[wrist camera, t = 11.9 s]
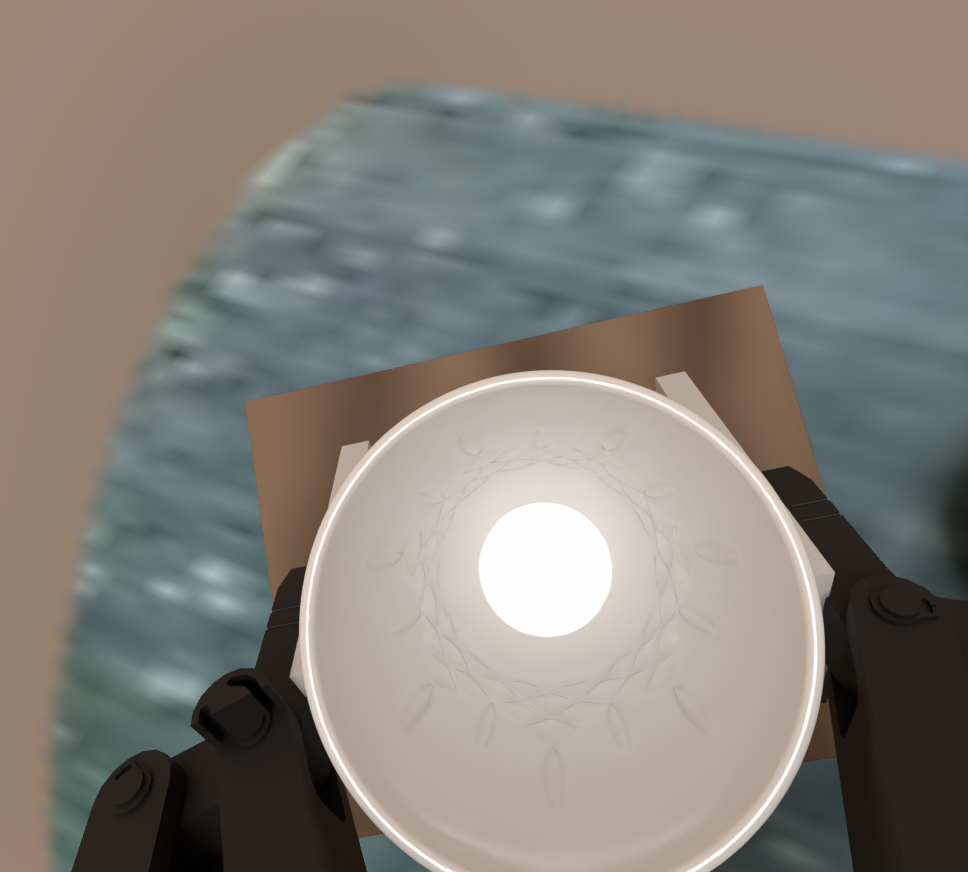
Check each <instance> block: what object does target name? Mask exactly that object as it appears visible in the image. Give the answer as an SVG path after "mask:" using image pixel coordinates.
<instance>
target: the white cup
mask: <svg viewBox="0 0 968 872" xmlns="http://www.w3.org/2000/svg"><path fill="white" fill-rule="evenodd" d="M299 645H300V658H301V667H302V674H303V680H304V686H305V690H306V695H307V699H308V703H309V707H310V710H311V714H312V717H313V720H314V723H315V726H316V728H317V731H318V734H319V736H320V739H321V741H322V743H323V746H324V748H325V750H326V752H327V754H328V756H329V758H330V760H331V762H332V764H333V766H334V768H335V770H336V772H337V773H338V775H339V777H340V778H341V780H342V782H343V783H344V785H345V786H346V788H347V789H348V791H349V792H350V794H351V795H352V797H353V798H354V799H355V801H356V802H357V803H358V805H359V806H360V807H361V809H362V810H363V811H364V812H365V814H366V815H367V816H368V817H369V818H370V819H371V821H372V822H373V823H374V824H375V825H376V826H377V827H378V828H379V829H380V830H381V831H382V832H383V833H384V834H385V835H386V836H387V837H388V838H389V839H390V840H391V841H392V842H393V843H394V844H395V845H397V846H398V847H399V848H400V849H401V850H402V851H404V852H405V853H406V854H407V855H409V856H410V857H411V858H413V859H414V860H415V861H417V862H418V863H419V864H421V865H422V866H424V867H425V868H427V869H428V870H430V871H431V872H710V871H712V870H713V869H715V868H716V867H718V866H719V865H720V864H722V863H723V862H724V861H726V860H727V859H728V858H729V857H731V856H732V855H733V854H734V853H735V852H737V851H738V850H739V849H740V848H741V847H742V846H743V845H744V844H745V843H746V842H747V841H748V840H749V839H750V838H751V837H752V836H753V835H754V834H755V833H756V832H757V831H758V830H759V829H760V827H761V826H762V825H763V824H764V823H765V822H766V820H767V819H768V818H769V817H770V815H771V814H772V813H773V811H774V810H775V808H776V807H777V806H778V804H779V803H780V801H781V800H782V798H783V797H784V795H785V794H786V792H787V790H788V789H789V787H790V785H791V783H792V782H793V780H794V778H795V776H796V774H797V772H798V770H799V768H800V766H801V763H802V761H803V759H804V757H805V754H806V752H807V749H808V746H809V744H810V741H811V738H812V735H813V731H814V728H815V724H816V721H817V717H818V712H819V708H820V702H821V697H822V690H823V682H824V671H825V634H824V622H823V614H822V607H821V602H820V596H819V592H818V587H817V583H816V579H815V576H814V572H813V569H812V566H811V563H810V560H809V557H808V554H807V551H806V549H805V546H804V544H803V541H802V539H801V537H800V534H799V532H798V530H797V528H796V526H795V524H794V522H793V520H792V518H791V516H790V514H789V513H788V511H787V509H786V507H785V506H784V504H783V502H782V501H781V499H780V498H779V496H778V495H777V493H776V492H775V490H774V489H773V487H772V486H771V484H770V483H769V482H768V480H767V479H766V478H765V476H764V475H763V474H762V473H761V471H760V470H759V469H758V468H757V467H756V466H755V464H754V463H753V462H752V461H751V460H750V459H749V458H748V457H747V456H746V455H745V453H744V452H743V451H742V450H741V449H740V448H739V447H737V446H736V445H735V444H734V443H733V442H732V441H731V440H730V439H729V438H728V437H727V436H725V435H724V434H723V433H722V432H721V431H719V430H718V429H717V428H716V427H714V426H713V425H712V424H710V423H709V422H708V421H706V420H705V419H703V418H702V417H701V416H699V415H697V414H696V413H694V412H693V411H691V410H690V409H688V408H686V407H685V406H683V405H681V404H679V403H677V402H676V401H674V400H672V399H670V398H668V397H666V396H664V395H662V394H659V393H657V392H655V391H652V390H650V389H647V388H645V387H642V386H640V385H637V384H634V383H631V382H628V381H624V380H621V379H617V378H613V377H609V376H604V375H599V374H594V373H587V372H579V371H566V370H538V371H525V372H517V373H510V374H505V375H500V376H495V377H491V378H487V379H484V380H480V381H477V382H474V383H471V384H468V385H465V386H463V387H460V388H458V389H455V390H453V391H450V392H448V393H446V394H444V395H442V396H440V397H438V398H436V399H434V400H432V401H430V402H429V403H427V404H425V405H423V406H422V407H420V408H419V409H417V410H415V411H414V412H412V413H411V414H409V415H408V416H407V417H405V418H404V419H403V420H401V421H400V422H399V423H397V424H396V425H395V426H394V427H392V428H391V429H390V430H389V431H388V432H387V433H385V434H384V435H383V436H382V437H381V438H380V439H379V440H378V441H377V442H376V443H375V444H374V445H373V446H372V447H371V448H370V449H369V450H368V451H367V452H366V453H365V455H364V456H363V457H362V458H361V459H360V460H359V462H358V463H357V464H356V465H355V467H354V468H353V469H352V471H351V472H350V473H349V475H348V476H347V478H346V479H345V480H344V482H343V483H342V485H341V487H340V488H339V490H338V491H337V493H336V495H335V496H334V498H333V500H332V502H331V504H330V506H329V508H328V509H327V512H326V514H325V516H324V518H323V520H322V522H321V525H320V527H319V530H318V532H317V535H316V537H315V540H314V543H313V546H312V549H311V553H310V556H309V560H308V564H307V568H306V572H305V577H304V582H303V588H302V595H301V603H300V616H299Z"/></svg>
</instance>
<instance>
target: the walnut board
mask: <svg viewBox="0 0 968 872" xmlns="http://www.w3.org/2000/svg"><path fill="white" fill-rule="evenodd" d="M538 370H566V371H579V372H587V373H594V374H599V375H604V376H609V377H613V378H617V379H621V380H624V381H628V382H631V383H634V384H637V385H640V386H642V387H645V388H647V389H650V390H652V391H655V392H656V379H655V378H657V377H661V376H666V375H670V374H675V373H680V372H684V371H685V372H686V374H687V375H688V376H689V378H690V379H691V380H692V382H693V383H694V384H695V386H696V387H697V388H698V390H699V391H700V392H701V394H702V395H703V396H704V398H705V399H706V400H707V402H708V403H709V404H710V406H711V407H712V409H713V410H714V411H715V413H716V414H717V415H718V417H719V418H720V419H721V421H722V422H723V423H724V425H725V426H726V427H727V429H728V430H729V431H730V433H731V434H732V435H733V437H734V438H735V439H736V441H737V442H738V443H739V445H740V446H741V447H742V449H743V450H744V451H745V453H746V454H747V455H748V457H749V458H750V459H751V461H752V462H753V463H754V464H755V466H756V467H757V468H758V469H759V470H760V471H766V470H771V469H776V468H781V467H785V466H790V467H792V468H793V469H795V470H797V471H798V472H800V473H802V474H804V475H805V476H807V477H809V478H810V479H812V480H813V481H814V483H815V484H816V485H817V486H818V487H819V489H820V490H821V491H822V492H823V493H824V494H825V491H824V488H823V485H822V481H821V478H820V475H819V471H818V468H817V465H816V461H815V458H814V455H813V451H812V448H811V444H810V441H809V438H808V434H807V431H806V428H805V424H804V421H803V418H802V414H801V411H800V408H799V404H798V401H797V398H796V394H795V391H794V387H793V384H792V381H791V377H790V374H789V371H788V367H787V364H786V361H785V357H784V354H783V351H782V347H781V344H780V340H779V337H778V334H777V330H776V327H775V324H774V320H773V317H772V314H771V310H770V307H769V304H768V300H767V297H766V294H765V290H764V287H763V285H761V286H756V287H752V288H748V289H743V290H739V291H734V292H730V293H725V294H721V295H717V296H712V297H708V298H703V299H699V300H694V301H690V302H686V303H681V304H677V305H672V306H668V307H664V308H659V309H655V310H650V311H646V312H641V313H637V314H633V315H628V316H624V317H619V318H615V319H611V320H606V321H602V322H597V323H593V324H588V325H584V326H580V327H575V328H571V329H566V330H562V331H557V332H553V333H549V334H544V335H540V336H535V337H531V338H527V339H522V340H518V341H513V342H509V343H504V344H500V345H496V346H491V347H487V348H482V349H478V350H473V351H469V352H465V353H460V354H456V355H451V356H447V357H443V358H438V359H434V360H429V361H425V362H420V363H416V364H412V365H407V366H403V367H398V368H394V369H389V370H385V371H381V372H376V373H372V374H367V375H363V376H359V377H354V378H350V379H345V380H341V381H336V382H332V383H328V384H323V385H319V386H314V387H310V388H306V389H301V390H297V391H292V392H288V393H283V394H279V395H275V396H270V397H266V398H261V399H257V400H252V401H248V402H245V404H246V412H247V419H248V426H249V433H250V441H251V448H252V455H253V462H254V470H255V477H256V484H257V491H258V499H259V506H260V513H261V520H262V527H263V535H264V542H265V549H266V556H267V564H268V571H269V578H270V585H271V593H272V600H273V603H274V600H275V596H276V593H277V589H278V587H279V586H280V585H281V583H282V582H283V580H284V579H285V577H286V576H287V574H288V573H289V571H290V570H291V569H293V568H298V567H303V566H307V564H308V560H309V556H310V553H311V549H312V546H313V543H314V540H315V537H316V535H317V532H318V530H319V527H320V525H321V522H322V520H323V518H324V516H325V514H326V512H327V509H328V505H329V501H330V496H331V492H332V488H333V483H334V479H335V474H336V470H337V466H338V461H339V457H340V452H341V448H342V446H346V445H350V444H355V443H360V442H364V441H369V442H370V444H371V446H373V445H374V444H375V443H376V442H377V441H378V440H379V439H380V438H381V437H382V436H383V435H384V434H385V433H387V432H388V431H389V430H390V429H391V428H392V427H394V426H395V425H396V424H397V423H399V422H400V421H401V420H403V419H404V418H405V417H407V416H408V415H409V414H411V413H412V412H414V411H415V410H417V409H419V408H420V407H422V406H423V405H425V404H427V403H429V402H430V401H432V400H434V399H436V398H438V397H440V396H442V395H444V394H446V393H448V392H450V391H453V390H455V389H458V388H460V387H463V386H465V385H468V384H471V383H474V382H477V381H480V380H484V379H487V378H491V377H495V376H500V375H505V374H510V373H517V372H525V371H538ZM825 496H826V495H825ZM827 668H828V667H827V665H826V663H825V671H824V678H825V674H826V671H827ZM832 757H837V755H836V749H835V742H834V735H833V729H832V722H831V715H830V708H829V702H828V699H827V702H826V704H825V703H820V708H819V712H818V717H817V721H816V724H815V728H814V731H813V735H812V738H811V741H810V744H809V746H808V749H807V752H806V754H805V757H804V759H803V761H802V763H803V762H809V761H815V760H821V759H826V758H832ZM345 789H346V793H347V796H348V800H349V804H350V808H351V812H352V816H353V820H354V824H355V828H356V831H357V835H358V838H361V837H367V836H372V835H378V834H384V833H383V832H382V831H381V830H380V829H379V828H378V827H377V826H376V825H375V824H374V823H373V822H372V821H371V819H370V818H369V817H368V816H367V815H366V814H365V812H364V811H363V810H362V809H361V807H360V806H359V805H358V803H357V802H356V801H355V799H354V798H353V797H352V795H351V794H350V792H349V791H348V789H347V788H346V786H345Z"/></svg>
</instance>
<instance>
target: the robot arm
mask: <svg viewBox="0 0 968 872" xmlns="http://www.w3.org/2000/svg"><path fill="white" fill-rule="evenodd" d="M655 379H656V392H657V393H659V394H662V395H664V396H666V397H668V398H670V399H672V400H674V401H676V402H677V403H679V404H681V405H683V406H685V407H686V408H688V409H690V410H691V411H693V412H694V413H696V414H697V415H699V416H701V417H702V418H703V419H705V420H706V421H708V422H709V423H710V424H712V425H713V426H714V427H716V428H717V429H718V430H719V431H721V432H722V433H723V434H724V435H725V436H727V437H728V438H729V439H730V440H731V441H732V442H733V443H734V444H735V445H736V446H737V447H739V448H740V449H741V450H742V451H743V452H744V453H745V451H744V450H743V449H742V447H741V446H740V445H739V443H738V442H737V441H736V439H735V438H734V437H733V435H732V434H731V433H730V431H729V430H728V429H727V427H726V426H725V425H724V423H723V422H722V421H721V419H720V418H719V417H718V415H717V414H716V413H715V411H714V410H713V409H712V407H711V406H710V404H709V403H708V402H707V400H706V399H705V398H704V396H703V395H702V394H701V392H700V391H699V390H698V388H697V387H696V386H695V384H694V383H693V382H692V380H691V379H690V378H689V376H688V375H687V374H686V372H685V371H684V372H680V373H675V374H670V375H666V376H661V377H657V378H655ZM371 447H372V446H371V444H370V442H369V441H364V442H360V443H355V444H350V445H346V446H342V448H341V452H340V457H339V461H338V466H337V470H336V474H335V479H334V483H333V488H332V492H331V496H330V501H329V505H328V508H329V506H330V504H331V502H332V500H333V498H334V496H335V495H336V493H337V491H338V490H339V488H340V487H341V485H342V483H343V482H344V480H345V479H346V478H347V476H348V475H349V473H350V472H351V471H352V469H353V468H354V467H355V465H356V464H357V463H358V462H359V460H360V459H361V458H362V457H363V456H364V455H365V453H366V452H367V451H368V450H369V449H370V448H371ZM745 455H746V456H747V457H748V455H747V454H746V453H745ZM748 458H749V457H748ZM749 459H750V458H749ZM750 460H751V459H750ZM761 473H762V474H763V475H764V476H765V478H766V479H767V480H768V482H769V483H770V484H771V486H772V487H773V489H774V490H775V492H776V493H777V495H778V496H779V498H780V499H781V501H782V502H783V504H784V506H785V507H786V509H787V511H788V513H789V514H790V516H791V518H792V520H793V522H794V524H795V526H796V528H797V530H798V532H799V534H800V537H801V539H802V541H803V544H804V546H805V549H806V551H807V554H808V557H809V560H810V563H811V566H812V569H813V572H814V576H815V579H816V583H817V587H818V592H819V596H820V602H821V607H822V614H823V622H824V634H825V663H826V665H827V667H828V668H827V671H826V674H825V678H824V682H823V690H822V697H821V702H820V703H825V704H826V702H827V699H828V702H829V708H830V715H831V722H832V729H833V735H834V742H835V749H836V755H837V762H838V769H839V776H840V782H841V789H842V796H843V802H844V809H845V816H846V823H847V829H848V836H849V843H850V849H851V856H852V863H853V870H854V872H968V601H962V600H952V599H946V598H940V597H936V596H934V595H932V594H931V593H930V592H929V591H928V590H927V589H925V588H924V587H922V586H920V585H918V584H916V583H914V582H912V581H909V580H907V579H904V578H899V577H896V576H895V575H894V574H893V573H892V572H891V571H890V570H889V569H888V568H887V567H886V566H885V565H884V564H883V563H882V561H881V560H880V559H879V558H878V557H877V556H876V554H875V553H874V552H873V551H872V550H871V548H870V547H869V546H868V545H867V544H866V543H865V541H864V540H863V539H862V538H861V537H860V536H859V534H858V533H857V532H856V531H855V530H854V528H853V527H852V526H851V525H850V524H849V523H848V521H847V520H846V519H845V518H844V517H843V516H840V514H839V511H838V510H837V509H836V507H835V506H834V505H833V504H832V503H831V501H828V500H827V497H826V496H825V494H824V493H823V492H822V491H821V490H820V489H819V487H818V486H817V485H816V484H815V483H814V481H813V480H812V479H810V478H809V477H807V476H805V475H804V474H802V473H800V472H798V471H797V470H795V469H793V468H792V467H790V466H785V467H781V468H776V469H771V470H766V471H761ZM306 568H307V566H303V567H298V568H293V569H291V570H290V571H289V573H288V574H287V576H286V577H285V579H284V580H283V582H282V583H281V585H280V586H279V587H278V589H277V593H276V596H275V600H274V603H273V607H272V613H271V614H270V617H269V621H268V624H267V628H268V629H267V630H266V631H265V635H264V638H263V642H262V645H261V649H260V652H259V656H258V659H257V663H256V666H255V669H254V668H241V669H238V670H235V671H232V672H230V673H227V674H225V675H224V676H223V677H221V678H220V679H218V680H217V681H215V682H214V683H213V684H212V685H211V686H210V687H209V688H208V689H207V690H206V692H205V693H204V694H203V695H202V696H201V698H200V699H199V701H198V703H197V705H196V707H195V709H194V711H193V715H192V721H191V727H192V728H193V729H195V730H196V731H197V732H198V733H199V734H200V735H201V736H202V737H203V738H205V739H206V740H205V741H203V742H201V743H199V744H197V745H195V746H193V747H191V748H189V749H188V750H186V751H184V752H182V753H180V754H178V755H176V756H174V757H172V758H170V757H169V756H168V755H167V754H165V753H163V752H160V751H158V750H150V751H143V752H141V753H139V754H137V755H135V756H133V757H131V758H129V759H127V760H126V761H125V762H124V763H123V764H122V765H120V766H119V767H118V768H117V769H116V770H115V771H113V773H112V774H111V775H110V777H109V778H108V779H107V780H106V782H105V783H104V784H103V786H102V787H101V789H100V791H99V793H98V795H97V797H96V799H95V801H94V804H93V807H92V810H91V813H90V816H89V819H88V822H87V825H86V828H85V831H84V834H83V837H82V840H81V844H80V847H79V850H78V853H77V856H76V859H75V862H74V865H73V868H72V871H71V872H367V870H366V866H365V862H364V859H363V855H362V851H361V847H360V843H359V839H358V835H357V831H356V828H355V824H354V820H353V816H352V812H351V808H350V804H349V800H348V796H347V793H346V789H345V785H344V783H343V782H342V780H341V778H340V777H339V775H338V773H337V772H336V770H335V768H334V766H333V764H332V762H331V760H330V758H329V756H328V754H327V752H326V750H325V748H324V746H323V743H322V741H321V739H320V736H319V734H318V731H317V728H316V726H315V723H314V720H313V717H312V714H311V710H310V707H309V703H308V699H307V695H306V690H305V686H304V680H303V674H302V667H301V658H300V645H299V616H300V603H301V595H302V588H303V582H304V577H305V572H306Z"/></svg>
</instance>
